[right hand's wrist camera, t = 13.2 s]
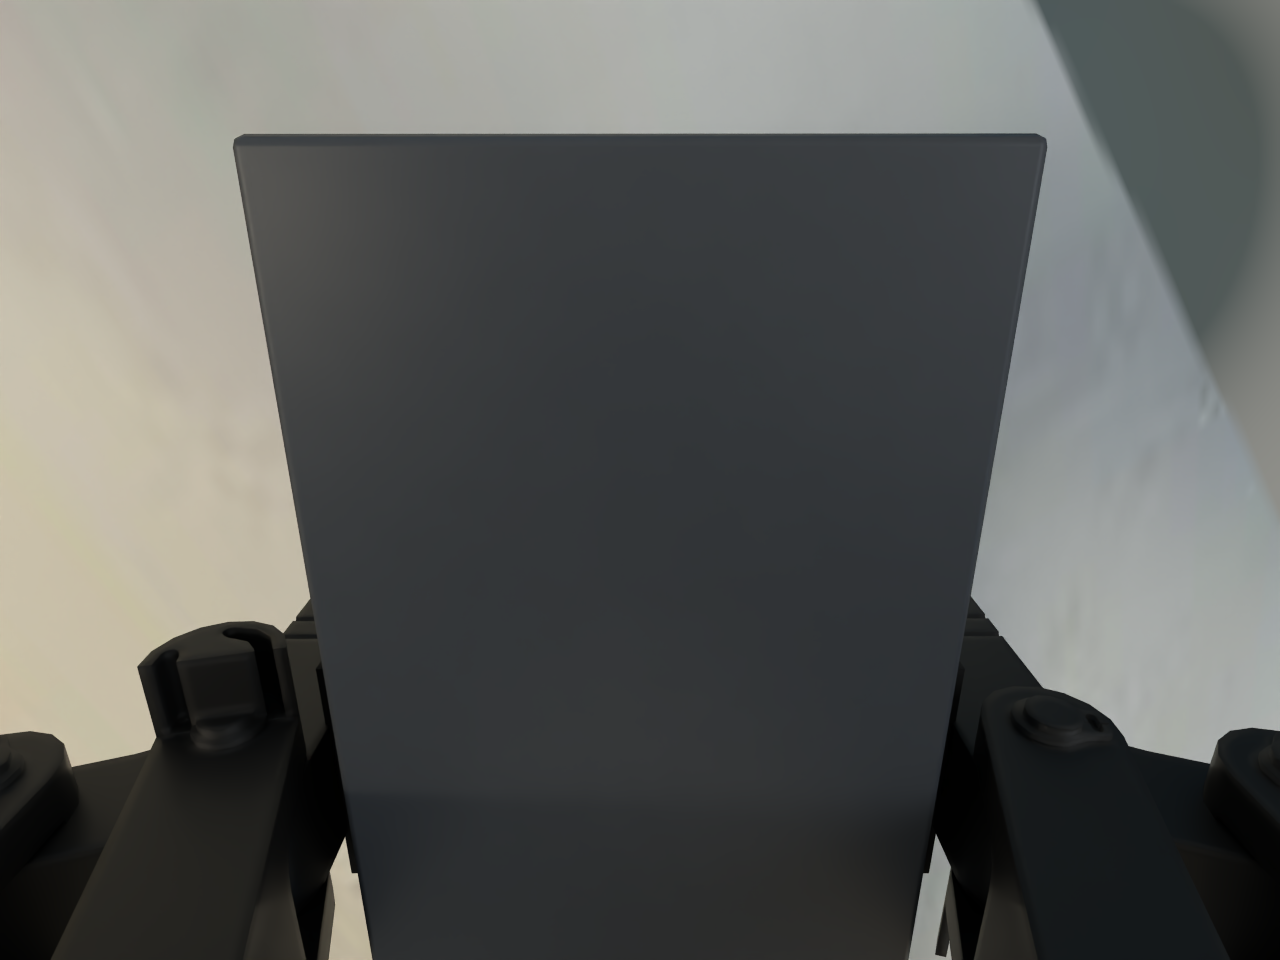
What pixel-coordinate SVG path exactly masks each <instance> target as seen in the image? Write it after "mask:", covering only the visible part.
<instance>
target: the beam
mask: <svg viewBox="0 0 1280 960" xmlns="http://www.w3.org/2000/svg"><path fill="white" fill-rule="evenodd" d="M233 150H234V156H235V162H236V167H237V173H238V179H239V185H240V191H241V196H242V202H243V208H244V214H245V220H246V226H247V231H248V237H249V243H250V249H251V255H252V260H253V266H254V272H255V278H256V284H257V290H258V295H259V301H260V307H261V313H262V319H263V324H264V330H265V336H266V342H267V348H268V354H269V359H270V365H271V371H272V377H273V383H274V389H275V394H276V400H277V406H278V412H279V418H280V423H281V429H282V435H283V441H284V447H285V453H286V458H287V464H288V470H289V476H290V482H291V487H292V493H293V499H294V505H295V511H296V517H297V522H298V528H299V534H300V540H301V546H302V551H303V557H304V563H305V569H306V575H307V581H308V586H309V592H310V598H311V604H312V610H313V615H314V621H315V627H316V633H317V639H318V645H319V650H320V656H321V662H322V668H323V674H324V679H325V685H326V691H327V697H328V703H329V709H330V714H331V720H332V726H333V732H334V738H335V743H336V749H337V755H338V761H339V767H340V773H341V778H342V784H343V790H344V796H345V802H346V808H347V813H348V819H349V825H350V831H351V837H352V842H353V848H354V854H355V860H356V866H357V872H358V877H359V883H360V889H361V895H362V901H363V906H364V912H365V918H366V924H367V930H368V936H369V941H370V947H371V953H372V959H373V960H908V959H909V953H910V947H911V941H912V935H913V929H914V923H915V918H916V912H917V906H918V900H919V894H920V888H921V882H922V877H923V871H924V865H925V859H926V853H927V847H928V842H929V836H930V830H931V824H932V818H933V812H934V806H935V801H936V795H937V789H938V783H939V777H940V771H941V765H942V760H943V754H944V748H945V742H946V736H947V730H948V725H949V719H950V713H951V707H952V701H953V695H954V689H955V684H956V678H957V672H958V666H959V660H960V654H961V648H962V643H963V637H964V631H965V625H966V619H967V613H968V608H969V602H970V596H971V590H972V584H973V578H974V572H975V567H976V561H977V555H978V549H979V543H980V537H981V531H982V526H983V520H984V514H985V508H986V502H987V496H988V490H989V485H990V479H991V473H992V467H993V461H994V455H995V450H996V444H997V438H998V432H999V426H1000V420H1001V414H1002V409H1003V403H1004V397H1005V391H1006V385H1007V379H1008V373H1009V368H1010V362H1011V356H1012V350H1013V344H1014V338H1015V333H1016V327H1017V321H1018V315H1019V309H1020V303H1021V297H1022V292H1023V286H1024V280H1025V274H1026V268H1027V262H1028V256H1029V251H1030V245H1031V239H1032V233H1033V227H1034V221H1035V216H1036V210H1037V204H1038V198H1039V192H1040V186H1041V180H1042V175H1043V169H1044V163H1045V157H1046V151H1047V142H1046V139H1045V138H1044V137H1042V136H1040V135H1038V134H243V135H241V136H239V137H237V138H235V139H234V145H233Z"/></svg>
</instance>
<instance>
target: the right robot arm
mask: <svg viewBox="0 0 1280 960" xmlns="http://www.w3.org/2000/svg"><path fill="white" fill-rule="evenodd" d="M998 633H999V632H998V630H997V629H996V628H995V626H994V625H993V624H992V623H991V621H990V620H989V619H988V618H985V614H984V613H983V611H982V610H981V609H980V607H979V606H978V605H977V604H976V602H975V601H974V600H973V599H972V597H971V596H970V602H969V608H968V613H967V619H966V625H965V631H964V637H963V643H962V648H961V654H960V660H959V666H958V672H957V678H956V684H955V689H954V695H953V701H952V707H951V713H950V719H949V725H948V730H947V736H946V742H945V748H944V754H943V760H942V765H941V771H940V777H939V783H938V789H937V795H936V801H935V806H934V812H933V818H932V824H931V830H930V836H929V842H928V847H927V853H926V859H925V865H924V871H923V873H929V869H930V863H931V858H932V852H933V847H934V841H935V835H937V837H938V839H939V841H940V843H941V846H942V848H943V850H944V852H945V855H946V857H947V859H948V861H949V863H950V866H951V870H950V875H949V881H948V886H947V891H946V896H945V902H944V907H943V912H942V917H941V923H940V928H939V933H938V939H937V946H936V953H935V955H939V956H943V957H946V955H947V950H948V945H949V941H950V949H951V957H952V960H1280V731H1274V730H1266V729H1258V728H1247V729H1240V730H1233V731H1229V732H1228V733H1227V734H1225V735H1224V736H1223V737H1222V738H1220V739H1219V740H1218V742H1217V745H1216V748H1215V751H1214V754H1213V757H1212V760H1211V763H1210V764H1208V763H1203V762H1198V761H1193V760H1188V759H1184V758H1179V757H1174V756H1169V755H1164V754H1159V753H1154V752H1149V751H1145V750H1141V749H1138V748H1134V747H1130V746H1128V744H1127V742H1126V740H1125V738H1124V736H1123V735H1122V733H1121V732H1120V731H1119V730H1118V728H1117V727H1116V726H1115V725H1114V723H1113V722H1112V721H1111V719H1109V718H1108V717H1106V716H1105V715H1104V714H1102V713H1101V712H1099V711H1098V710H1097V709H1095V708H1094V707H1092V706H1091V705H1089V704H1087V703H1085V702H1083V701H1080V700H1078V699H1076V698H1074V697H1071V696H1069V695H1067V694H1064V693H1061V692H1057V691H1052V690H1048V689H1044V688H1043V687H1042V686H1041V685H1040V684H1039V682H1038V681H1037V680H1036V679H1035V677H1034V676H1033V675H1032V673H1031V672H1030V671H1029V670H1028V668H1027V667H1026V666H1025V665H1024V663H1023V662H1022V661H1021V659H1020V658H1019V657H1018V656H1017V654H1016V653H1015V652H1014V651H1013V649H1012V648H1011V647H1010V646H1009V644H1008V643H1007V642H1006V640H1005V639H1004V638H1003V637H1002V636H999V634H998ZM137 668H138V671H139V675H140V679H141V682H142V686H143V689H144V693H145V697H146V700H147V704H148V708H149V711H150V715H151V719H152V722H153V726H154V730H155V733H156V739H155V742H154V744H153V746H152V748H151V750H149V751H145V752H141V753H138V754H134V755H129V756H124V757H119V758H114V759H109V760H104V761H100V762H95V763H90V764H85V765H80V766H75V767H71V764H70V761H69V758H68V755H67V752H66V749H65V746H64V744H63V743H62V742H61V741H60V740H58V739H57V738H56V737H55V736H53V735H52V734H46V733H39V732H31V731H28V732H20V733H12V734H4V735H0V960H328V959H329V951H330V942H331V934H332V926H333V918H334V909H335V900H334V893H333V886H332V881H331V875H330V869H331V867H332V865H333V862H334V860H335V858H336V856H337V853H338V851H339V849H340V847H341V844H342V842H343V840H344V838H345V837H346V843H347V849H348V854H349V860H350V866H351V871H352V873H358V872H357V866H356V860H355V854H354V848H353V842H352V837H351V831H350V825H349V819H348V813H347V808H346V802H345V796H344V790H343V784H342V778H341V773H340V767H339V761H338V755H337V749H336V743H335V738H334V732H333V726H332V720H331V714H330V709H329V703H328V697H327V691H326V685H325V679H324V674H323V668H322V662H321V656H320V650H319V645H318V639H317V633H316V627H315V621H314V615H313V610H312V604H311V599H310V600H309V601H308V603H307V604H306V605H305V606H304V608H303V609H302V610H301V612H300V613H299V614H298V615H297V617H296V621H293V622H292V623H291V624H290V626H289V627H288V628H287V629H286V631H285V632H284V633H282V632H281V631H279V630H278V629H277V628H276V627H274V626H273V625H268V624H264V623H259V622H255V621H245V622H226V623H221V624H216V625H211V626H207V627H202V628H199V629H196V630H193V631H191V632H188V633H185V634H183V635H180V636H178V637H175V638H173V639H171V640H170V641H168V642H166V643H165V644H163V645H161V646H160V647H158V648H156V649H155V650H153V651H151V653H150V654H149V655H148V656H147V657H146V658H145V659H144V660H143V661H142V662H141V663H140V664H139V665H138V667H137Z"/></svg>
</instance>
